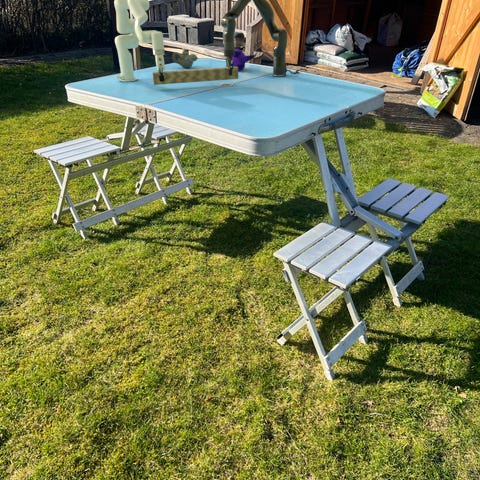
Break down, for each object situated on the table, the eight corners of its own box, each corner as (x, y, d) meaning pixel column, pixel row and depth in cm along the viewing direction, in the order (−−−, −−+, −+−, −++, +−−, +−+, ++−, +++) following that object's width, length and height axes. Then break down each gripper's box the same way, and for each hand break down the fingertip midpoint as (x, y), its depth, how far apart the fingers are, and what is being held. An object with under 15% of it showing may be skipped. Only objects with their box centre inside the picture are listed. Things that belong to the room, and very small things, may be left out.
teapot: (196, 65, 393) (195, 47, 386) (199, 67, 384) (198, 49, 376) (172, 67, 388) (170, 48, 380) (175, 69, 378) (173, 50, 370)
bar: (154, 84, 305) (152, 73, 301) (153, 83, 309) (152, 72, 305) (238, 78, 317) (238, 67, 314) (236, 77, 321) (236, 66, 318)
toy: (240, 72, 359) (228, 71, 382) (259, 65, 362) (246, 64, 386) (234, 52, 351) (222, 52, 375) (253, 45, 354) (241, 45, 378)
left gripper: (165, 53, 292) (168, 82, 301) (163, 50, 306) (165, 77, 315) (154, 54, 290) (157, 83, 299) (151, 50, 304) (154, 78, 314)
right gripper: (237, 49, 303) (237, 76, 312) (232, 47, 315) (232, 72, 324) (226, 50, 301) (227, 76, 310) (221, 47, 313) (222, 73, 322)
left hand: (161, 80), depth 307 cm, fingers closed on bar, 4 cm apart
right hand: (229, 74), depth 317 cm, fingers closed on bar, 4 cm apart
